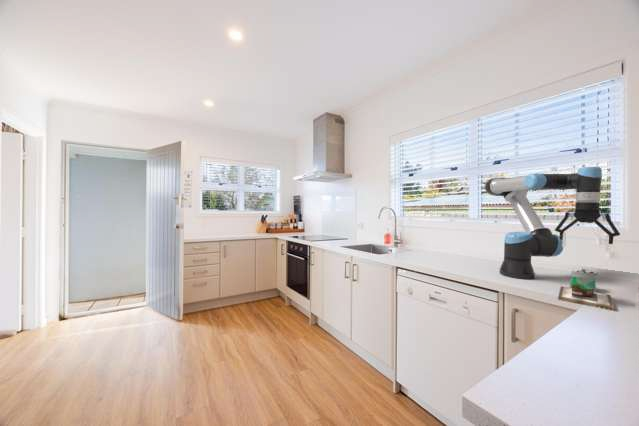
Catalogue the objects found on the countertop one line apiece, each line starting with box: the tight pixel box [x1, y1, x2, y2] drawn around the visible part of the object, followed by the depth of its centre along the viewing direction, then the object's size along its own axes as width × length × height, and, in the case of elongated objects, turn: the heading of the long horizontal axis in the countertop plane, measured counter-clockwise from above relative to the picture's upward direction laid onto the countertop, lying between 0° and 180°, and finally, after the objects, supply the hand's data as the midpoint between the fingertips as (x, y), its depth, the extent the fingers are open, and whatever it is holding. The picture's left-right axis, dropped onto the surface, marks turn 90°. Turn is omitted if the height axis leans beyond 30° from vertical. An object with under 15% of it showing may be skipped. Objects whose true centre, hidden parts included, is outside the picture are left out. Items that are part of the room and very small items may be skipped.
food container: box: [571, 267, 599, 297], centre depth 105 cm, size 12×6×10 cm, turn 120°
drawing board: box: [557, 285, 615, 311], centre depth 106 cm, size 15×20×1 cm
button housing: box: [569, 277, 597, 292], centre depth 119 cm, size 8×8×3 cm
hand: (584, 249), depth 116 cm, fingers open, 13 cm apart
